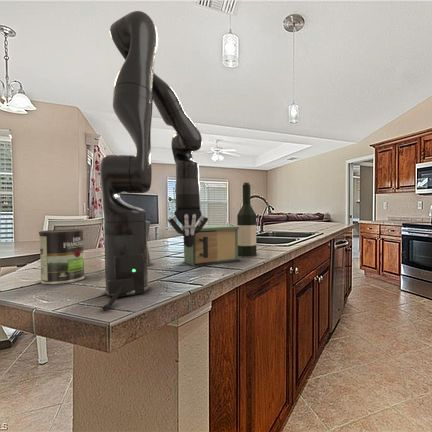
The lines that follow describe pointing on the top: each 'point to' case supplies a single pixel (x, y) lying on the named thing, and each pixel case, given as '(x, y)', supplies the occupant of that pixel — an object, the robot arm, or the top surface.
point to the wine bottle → (246, 225)
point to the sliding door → (205, 247)
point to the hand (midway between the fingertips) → (188, 246)
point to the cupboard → (225, 245)
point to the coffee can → (61, 256)
